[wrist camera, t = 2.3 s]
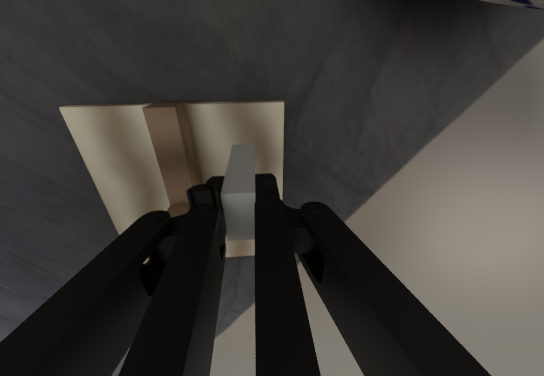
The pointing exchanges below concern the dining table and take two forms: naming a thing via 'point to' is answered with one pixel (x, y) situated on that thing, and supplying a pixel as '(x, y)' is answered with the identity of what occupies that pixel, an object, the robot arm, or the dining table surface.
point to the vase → (520, 3)
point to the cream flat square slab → (143, 163)
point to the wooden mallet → (173, 151)
